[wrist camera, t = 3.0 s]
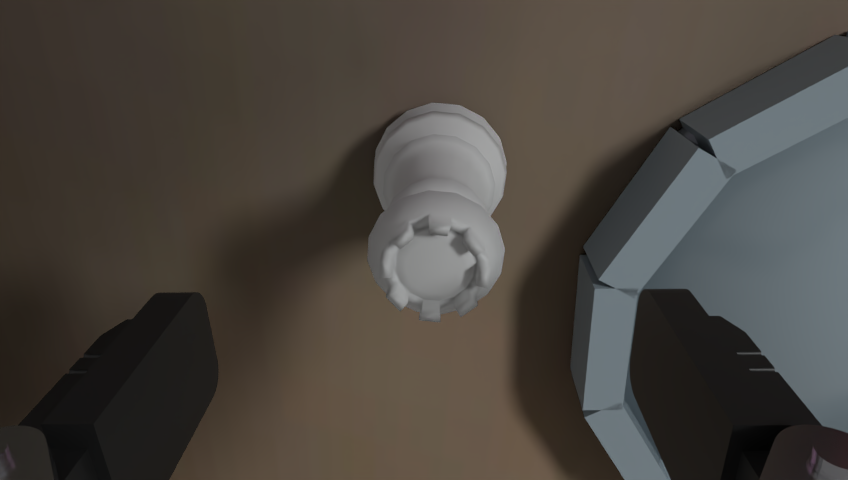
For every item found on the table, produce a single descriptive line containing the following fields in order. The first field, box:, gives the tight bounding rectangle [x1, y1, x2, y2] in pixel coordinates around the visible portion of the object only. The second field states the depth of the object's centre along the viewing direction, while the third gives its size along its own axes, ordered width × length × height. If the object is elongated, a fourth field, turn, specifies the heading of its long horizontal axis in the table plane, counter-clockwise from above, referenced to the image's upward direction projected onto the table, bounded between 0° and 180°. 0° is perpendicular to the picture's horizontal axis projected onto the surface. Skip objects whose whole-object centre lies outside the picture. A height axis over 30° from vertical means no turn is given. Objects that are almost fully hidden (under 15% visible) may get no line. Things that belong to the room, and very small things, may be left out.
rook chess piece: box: [367, 103, 507, 322], centre depth 17 cm, size 4×4×8 cm
